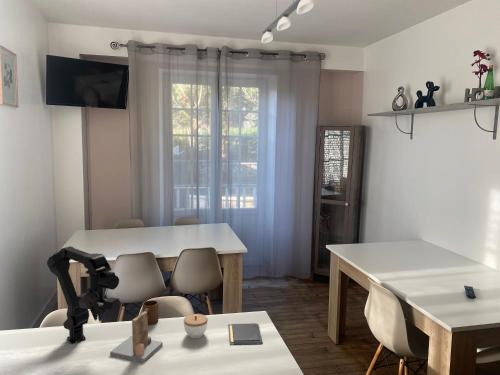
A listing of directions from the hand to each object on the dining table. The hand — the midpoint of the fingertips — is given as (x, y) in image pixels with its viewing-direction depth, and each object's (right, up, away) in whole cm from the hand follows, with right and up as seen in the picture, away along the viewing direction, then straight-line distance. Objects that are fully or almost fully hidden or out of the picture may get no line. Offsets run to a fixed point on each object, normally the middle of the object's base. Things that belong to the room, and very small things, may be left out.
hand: (97, 320), depth 164 cm
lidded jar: (+40, -11, +13) cm, 43 cm away
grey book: (+62, -12, +15) cm, 65 cm away
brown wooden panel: (+19, -11, -3) cm, 22 cm away
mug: (+15, -10, +24) cm, 30 cm away
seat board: (+17, -12, -1) cm, 21 cm away
